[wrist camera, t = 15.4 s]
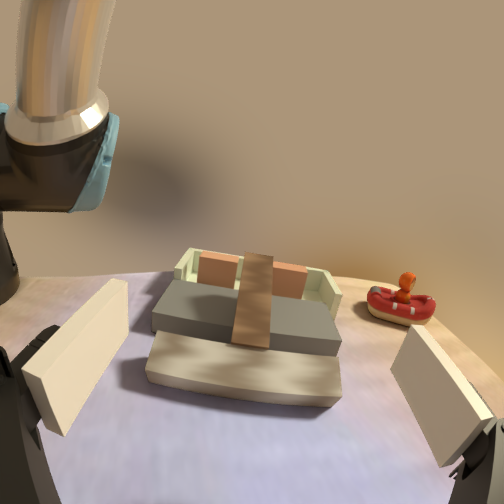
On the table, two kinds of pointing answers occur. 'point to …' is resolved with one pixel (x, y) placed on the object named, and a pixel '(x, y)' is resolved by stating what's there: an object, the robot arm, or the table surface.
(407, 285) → the toy boat
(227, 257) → the tile
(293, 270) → the tile
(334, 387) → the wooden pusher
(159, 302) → the slate board
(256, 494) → the table surface
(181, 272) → the tray
